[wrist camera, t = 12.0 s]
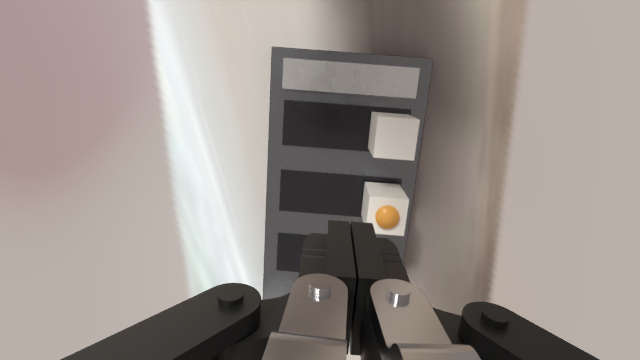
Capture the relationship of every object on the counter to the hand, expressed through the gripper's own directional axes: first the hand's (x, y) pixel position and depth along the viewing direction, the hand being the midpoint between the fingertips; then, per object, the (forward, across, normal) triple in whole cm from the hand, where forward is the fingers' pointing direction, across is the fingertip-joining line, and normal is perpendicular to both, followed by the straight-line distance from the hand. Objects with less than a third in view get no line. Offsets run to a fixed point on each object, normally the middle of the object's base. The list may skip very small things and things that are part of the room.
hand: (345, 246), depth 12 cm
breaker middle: (+19, -4, +5) cm, 20 cm away
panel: (+22, -1, +5) cm, 22 cm away
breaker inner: (+19, -4, -1) cm, 20 cm away
